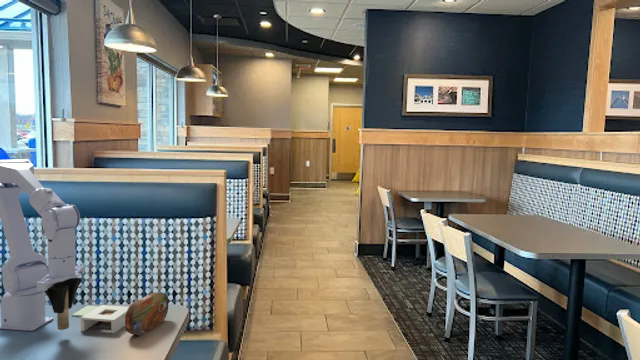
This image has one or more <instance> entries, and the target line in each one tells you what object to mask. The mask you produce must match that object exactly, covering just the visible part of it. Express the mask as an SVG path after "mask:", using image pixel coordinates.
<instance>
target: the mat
mask: <svg viewBox="0 0 640 360" xmlns="http://www.w3.org/2000/svg"><path fill="white" fill-rule="evenodd" d="M99 306H100V305H99ZM99 306H98V305H85V307H83V308H81V309H79V310H77V311H76V312H74V313H72V314H71V316H72V317H79V316H81V317H83V316H84V315H86V314H88V313H89V312H91V311H93V310H94V309H96V308H98V307H99ZM81 317H80V318H81Z"/></svg>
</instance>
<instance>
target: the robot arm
mask: <svg viewBox="0 0 640 360" xmlns="http://www.w3.org/2000/svg"><path fill="white" fill-rule="evenodd" d="M24 192H25V193H26V194H27V195H28V196H29V200H28V202H29V204H30V206H31V207H32V208H33V209H34V210H35V211H36V212H37V213H38V215H39V216H40V217H41V224H42V228H43V230H44V236H45V238H46V239H47V258H46V256H45V255H43V254H41V253H39V252H35V251H34V250H35V249H34V247H33V245H32V244H33V243H32V241H31V238H30V235H29V231H28V226H27V223H26V220H25V216H24V212H23V209H22V207H21V203H20V199H19V196H20V195H21V194H23V193H24ZM79 211H80V210H79V209H78V207H77V206H76V205H75V204H69V203H65V202H64V201H63V200H62V199H61V198H60V197H59V196H58V195H57V194H56V193H55V191H54V190H53V189H52V188H50V187H44V186H43V184H41V182H40V181H39V179H38V178H37V176H36V174H35V167H34V164H33V163H32V162H31V161H30V159H29V158H23V159H0V221H1V226H2V229H3V232H4V233H3V234H4V236H5V240H6V243H7V246H8V251H9V254H10V258H9V259H8V260H7V261H6V262H5V264H3V266H2V268H1V275H2V279H1V280H2V286H3V289H4V290H5V293H4V294H3V296H2V298H1V301H0V323H1V324H0V329H1V330H2V329H3V330H4V329H5V330H15V331H17V330H18V331H29V332H30V331H35V330H37V329H39V328H40V327H42V326H43V325H45V324H48V323H49V322H51V321H53V320H54V317H52V316H46V296H47V298H48V299H49V302H50V304H51V307H52V310H53V313H55V314H57V313H63V312H64V308H65V297H66V293H67V290H68V305H69V310H71V309H72V308H73V304H74V300H75V297H76V293H77V291H78V288H79V286H80V284H81V283H82V277H80V275H83V274H86V272H85V271H86V266H85V265H79V264H78V265H76V229H77V228H78V227H79V225H80V222H81V214H80V212H79Z"/></svg>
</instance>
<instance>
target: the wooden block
mask: <svg viewBox="0 0 640 360" xmlns="http://www.w3.org/2000/svg"><path fill="white" fill-rule="evenodd" d="M69 310H70V309H69V305H68V290H67V293H66V297H65V308H64V312H63V313H56V314H57V316H56V317H57V330H58V331H63V330H67V329H69V328H70V320H69V319H70V318H69V315H70V312H69Z"/></svg>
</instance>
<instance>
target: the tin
mask: <svg viewBox="0 0 640 360" xmlns="http://www.w3.org/2000/svg"><path fill="white" fill-rule="evenodd" d="M128 307H129V308H128V310H127V312H126V315H125V330H126V332H128V333H129V334H131V335H135V336H143V335H145V334H146V333H149V332H150V331H151V330H153V329H154V328H155V327H157V326H159V325H160V324H162V323H163V322H164V321H165V319H166V317H167V314H168V311H169V299H168V297H167V294H165V293H164V292H161V291H160V292H151V293H149V294H147V295H145V296H144V297H142V298H140V299H138V300H136V301H134V302H132V304H130V305H129V306H128Z"/></svg>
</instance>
